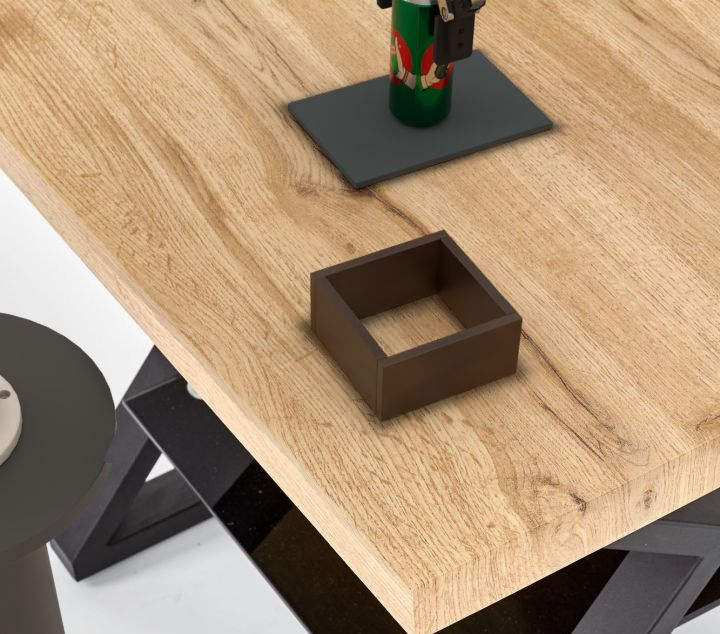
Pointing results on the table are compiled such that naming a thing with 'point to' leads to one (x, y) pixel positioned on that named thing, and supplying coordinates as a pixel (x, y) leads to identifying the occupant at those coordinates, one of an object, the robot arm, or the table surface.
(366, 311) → the frame
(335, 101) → the mat
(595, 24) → the table surface
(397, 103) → the soda can
